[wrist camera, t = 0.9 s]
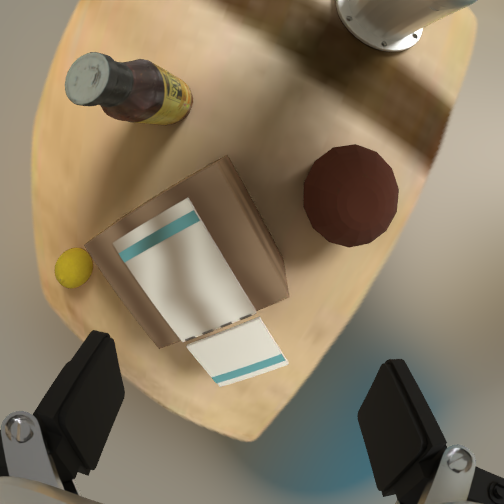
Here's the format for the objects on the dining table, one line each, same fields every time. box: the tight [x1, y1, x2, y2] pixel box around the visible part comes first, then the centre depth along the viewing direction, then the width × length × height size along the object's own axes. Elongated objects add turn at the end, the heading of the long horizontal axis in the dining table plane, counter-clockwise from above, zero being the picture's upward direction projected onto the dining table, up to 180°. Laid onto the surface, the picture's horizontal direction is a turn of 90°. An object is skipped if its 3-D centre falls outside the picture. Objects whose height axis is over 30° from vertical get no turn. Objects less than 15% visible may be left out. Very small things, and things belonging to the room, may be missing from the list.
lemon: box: [55, 248, 93, 288], centre depth 39 cm, size 6×6×8 cm
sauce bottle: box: [65, 52, 193, 125], centre depth 25 cm, size 7×6×20 cm
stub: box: [186, 316, 288, 387], centre depth 36 cm, size 10×8×1 cm
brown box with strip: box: [84, 155, 289, 349], centre depth 36 cm, size 18×16×11 cm
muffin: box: [304, 144, 399, 247], centre depth 33 cm, size 12×11×10 cm
